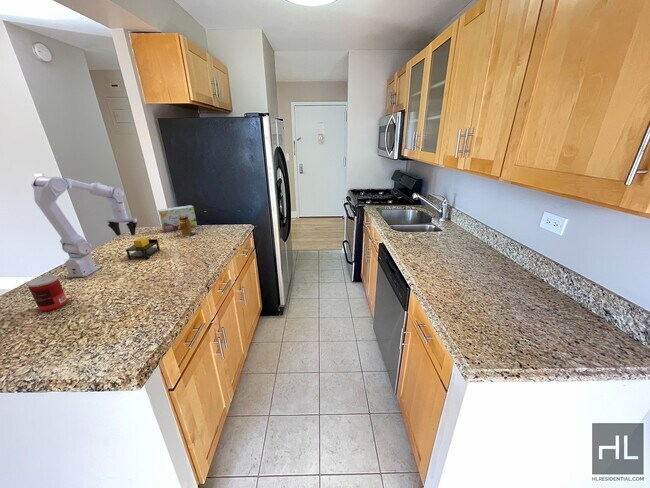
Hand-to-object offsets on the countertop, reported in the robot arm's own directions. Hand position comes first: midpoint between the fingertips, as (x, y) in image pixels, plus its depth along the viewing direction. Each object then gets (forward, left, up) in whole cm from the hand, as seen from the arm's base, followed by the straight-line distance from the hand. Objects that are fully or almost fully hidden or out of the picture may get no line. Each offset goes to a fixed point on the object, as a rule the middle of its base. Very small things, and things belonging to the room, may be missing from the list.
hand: (126, 235), depth 140 cm
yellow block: (-3, -9, -5) cm, 11 cm away
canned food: (-50, -3, -11) cm, 51 cm away
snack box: (+43, -7, -11) cm, 45 cm away
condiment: (+30, -18, -11) cm, 37 cm away
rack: (-3, -9, -10) cm, 14 cm away
